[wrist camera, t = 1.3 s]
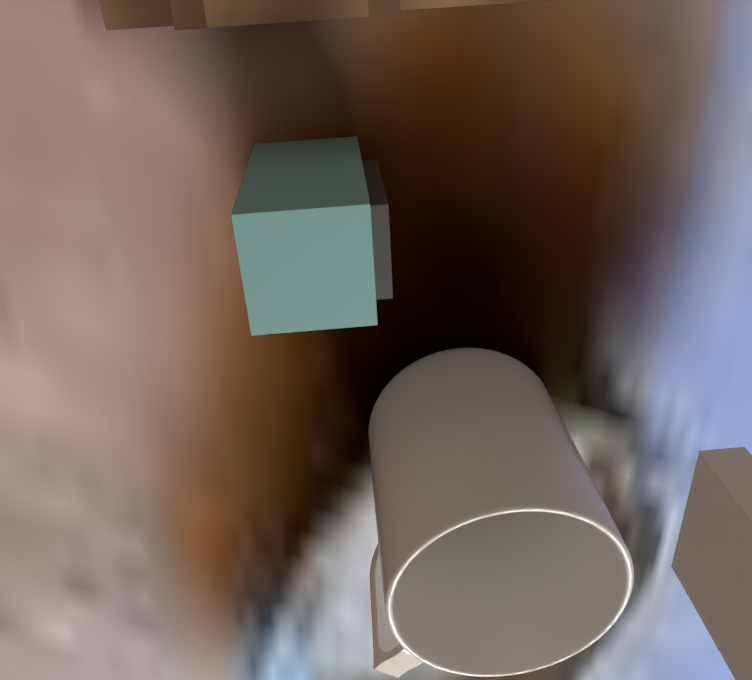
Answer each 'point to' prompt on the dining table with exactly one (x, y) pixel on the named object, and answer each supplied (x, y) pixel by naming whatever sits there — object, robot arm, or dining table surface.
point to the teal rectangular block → (312, 236)
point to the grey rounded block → (485, 523)
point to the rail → (257, 11)
